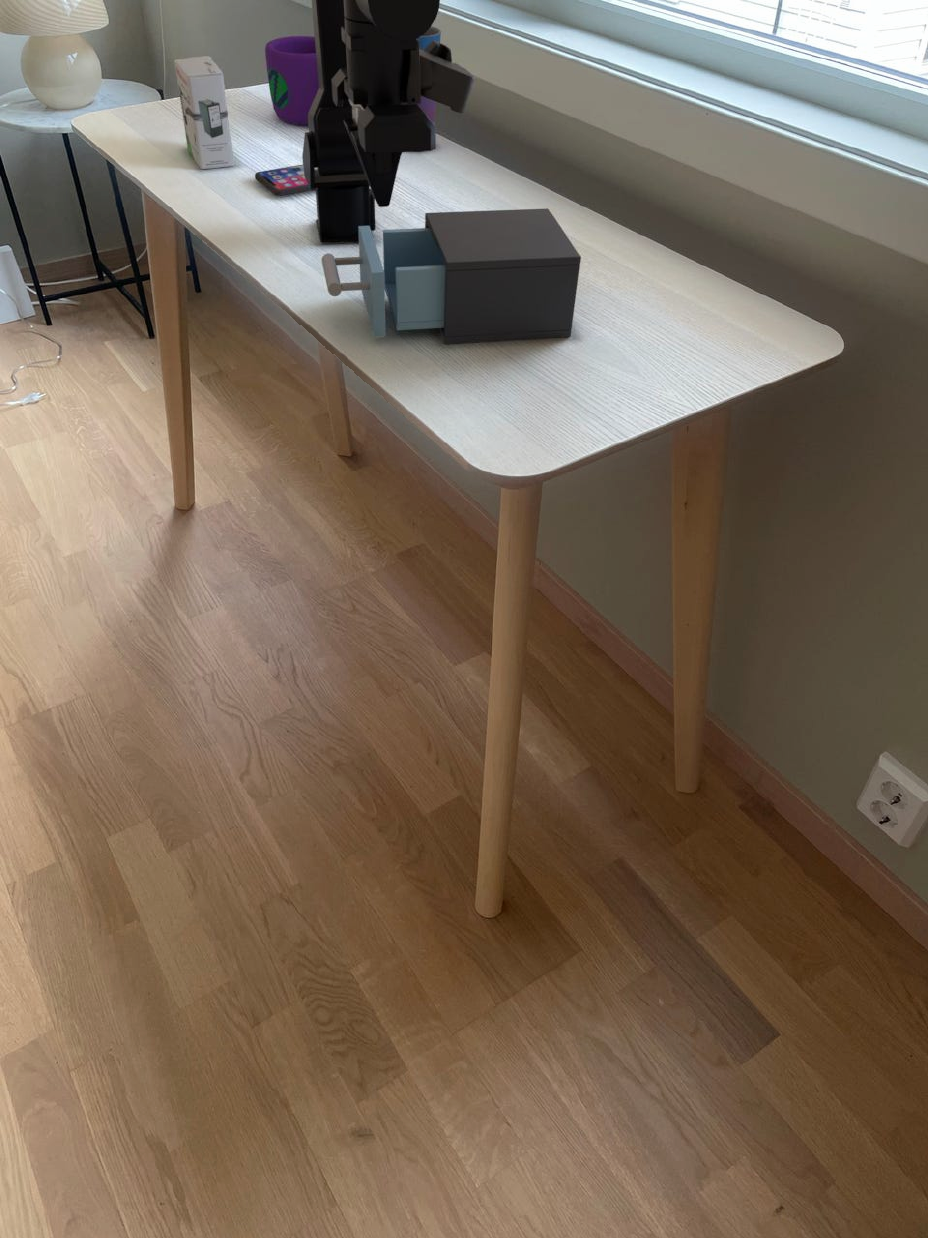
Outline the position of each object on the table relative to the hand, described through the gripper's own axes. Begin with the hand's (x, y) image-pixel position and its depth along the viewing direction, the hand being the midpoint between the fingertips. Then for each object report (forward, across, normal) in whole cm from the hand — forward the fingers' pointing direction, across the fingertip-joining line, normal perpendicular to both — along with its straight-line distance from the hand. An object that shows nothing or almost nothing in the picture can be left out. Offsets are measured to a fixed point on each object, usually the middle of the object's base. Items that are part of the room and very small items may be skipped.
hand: (383, 205), depth 90 cm
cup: (+10, +54, -16) cm, 57 cm away
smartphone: (+10, +42, +1) cm, 43 cm away
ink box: (+10, +53, +15) cm, 56 cm away
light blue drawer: (+11, +1, -2) cm, 11 cm away
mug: (+9, +67, -3) cm, 67 cm away
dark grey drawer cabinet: (+12, 0, -12) cm, 17 cm away
